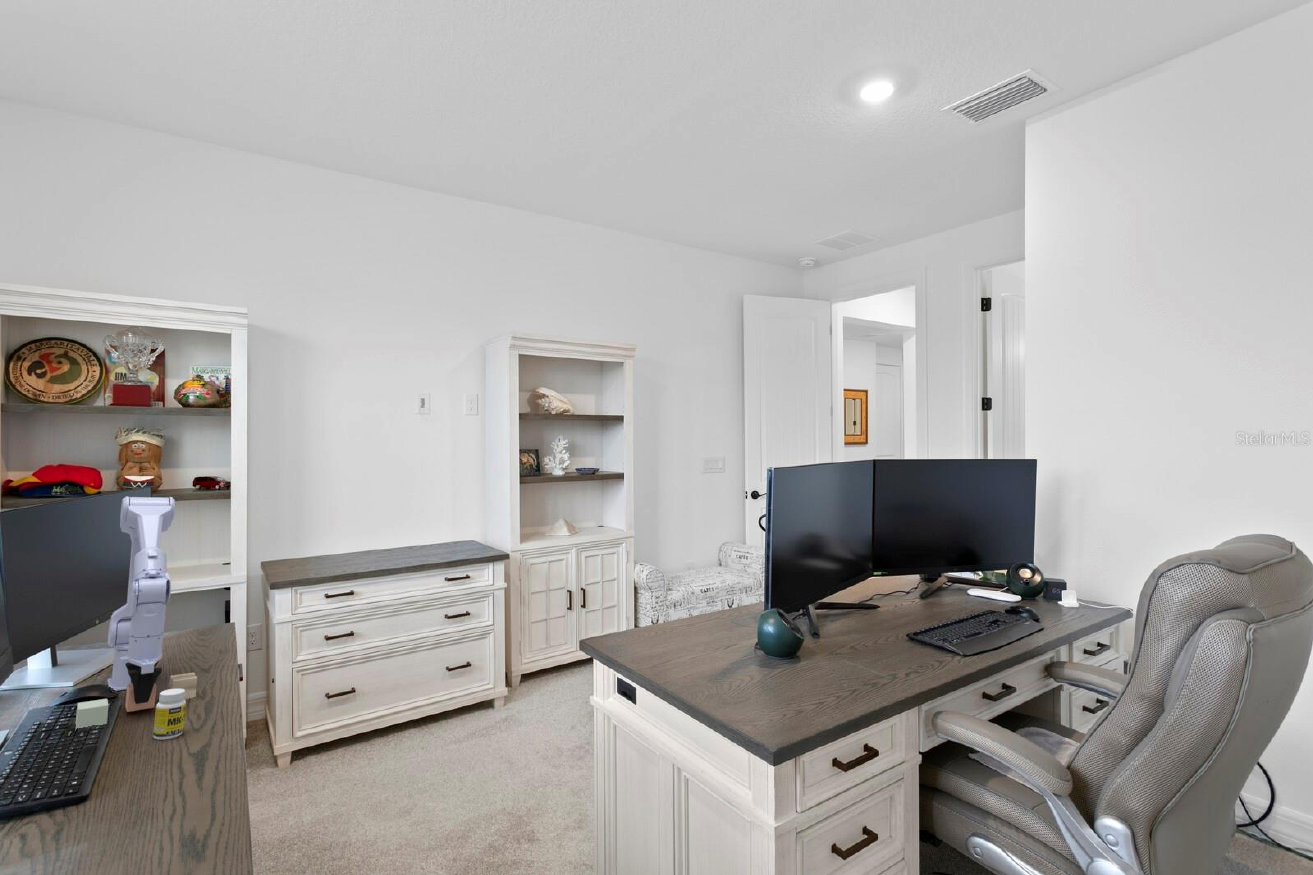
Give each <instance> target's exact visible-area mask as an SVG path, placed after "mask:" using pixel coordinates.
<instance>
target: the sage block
mask: <svg viewBox="0 0 1313 875" xmlns="http://www.w3.org/2000/svg"><path fill="white" fill-rule="evenodd" d="M109 705H110V704H109V700H108V698H102V699H97V700H89V701H81V702H77V705H76V706H77V707H76V714H75V724H76V727H75V730H76V729H77V728H83V727H88V726H92V725H103V724H107V723H108V716H109ZM107 725H108V724H107Z"/></svg>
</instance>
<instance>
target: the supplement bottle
mask: <svg viewBox="0 0 1313 875" xmlns="http://www.w3.org/2000/svg"><path fill="white" fill-rule="evenodd" d="M184 696H185V690H184V689H169V688H168V689H165V690H163V691H161V692H159V696H158V697H159V698H158V700H159V702H158V703H157V704H155V714H154V722H153V730H152V737H153V739H155V740H158V741H159V740H162V741H163V740H172V739H176V738H178V737H179V736H181V735H182V734H183V733H184V725H185V717H186V716H185V715H186V707H187V706H186V705H187V701H186V699H183V698H184Z"/></svg>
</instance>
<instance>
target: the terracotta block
mask: <svg viewBox="0 0 1313 875" xmlns="http://www.w3.org/2000/svg"><path fill="white" fill-rule="evenodd" d="M156 693H157V684H156V683H155V684H154V686H153V689H152V692H151V696H150V698H149V701H148V702H146V703H139V704H136V703H135V699H134V689H133V683H131V684H127V689H126V694H125V704H124V706H125V710H126V712H127V713H128V712H135V711H140V710H147V709H154V708H155V706H156V703H155V702H156Z"/></svg>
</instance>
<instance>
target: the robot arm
mask: <svg viewBox="0 0 1313 875" xmlns="http://www.w3.org/2000/svg"><path fill="white" fill-rule="evenodd" d="M175 511H176V500H175V499H174V498H173V497H172V496H168V497H160V496H159V497H157V496H156V497H143V496H141V497H139V496H125V497H124V498H122V500H121V505H120V517H119V518H120V521H119V522H120V523H119V528H120V531H121V532H122V533H126V534H128V535H129V537H130V541H131V548H130V561H129V572H128V573H129V575H128V585H127V586H128V587H127V599H126V603H125V604H124V605H122V606H121V607H119V608H118V609H116V610H115V611H113V612H112V615H110V622H109V625H108V626H109V627H108V631H107V632H108V635H107V644H108V646H109V647H110V648H114V652H113V653H114V654H113V664H112V674H111V678H107V684H108V685H107V686H108V688H109V687H111V688H113V689H114V690H115V691H114V692H117V691H118V692H119V691H126V690H127V684H131V683H133V689H134V699H135V703H136V704H139V703H146V702H148V701H149V698H150V696H151V692H152V689H153V686H154V684H156V681H157V679H158V678H159V676H160V675H161V673H162V672H163V667H157V665H158V664H159V662H160V660H161V659H162V658H163V652H162V651H163V643H164V642H163V640H164V631H165V630H164V628H165V620H166V611H167V610H166V609H167V604H169V601H170V598H171V592H172V581H171V578H170V577H171V576H170V573H169V572H168V568H167V567H168V565H167V564H168V563H167V553H166V552H165V551H164V550H162V549H161V538H162V533H165V532H166V531H169V528H170V527H171V524H172V523H173V520H174V518H175ZM165 602H166V603H165ZM126 617H129V618H126Z"/></svg>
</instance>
